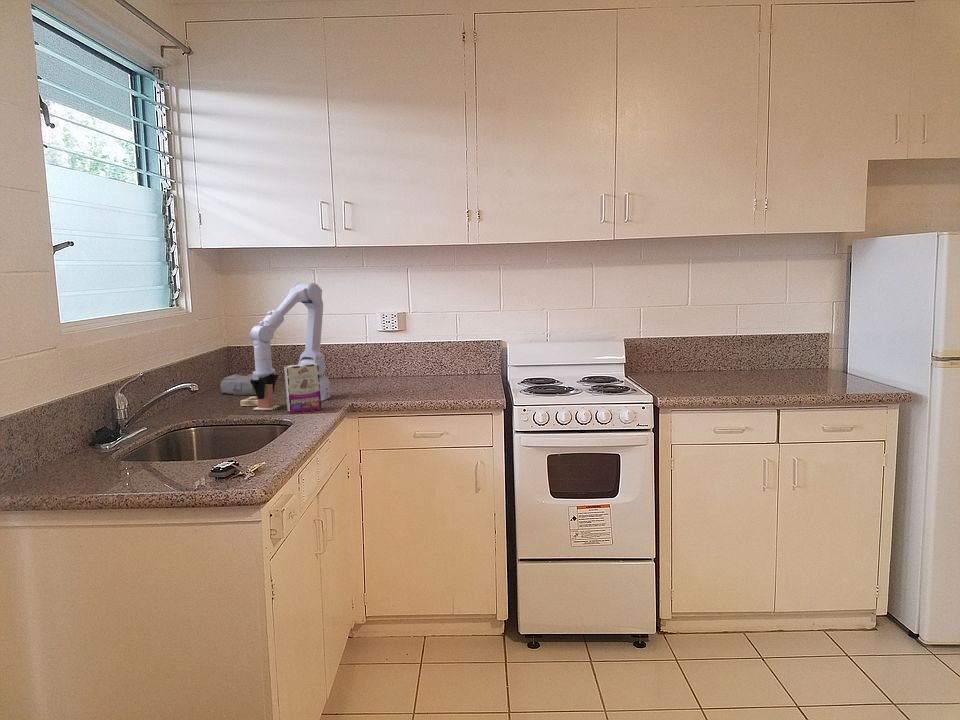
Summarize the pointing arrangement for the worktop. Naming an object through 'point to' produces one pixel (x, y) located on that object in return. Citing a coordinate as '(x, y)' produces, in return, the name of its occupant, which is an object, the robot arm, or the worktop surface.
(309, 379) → the candy bar box
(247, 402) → the pocket holder
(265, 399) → the peg
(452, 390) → the worktop surface
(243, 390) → the grey rounded bag
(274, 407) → the mat
